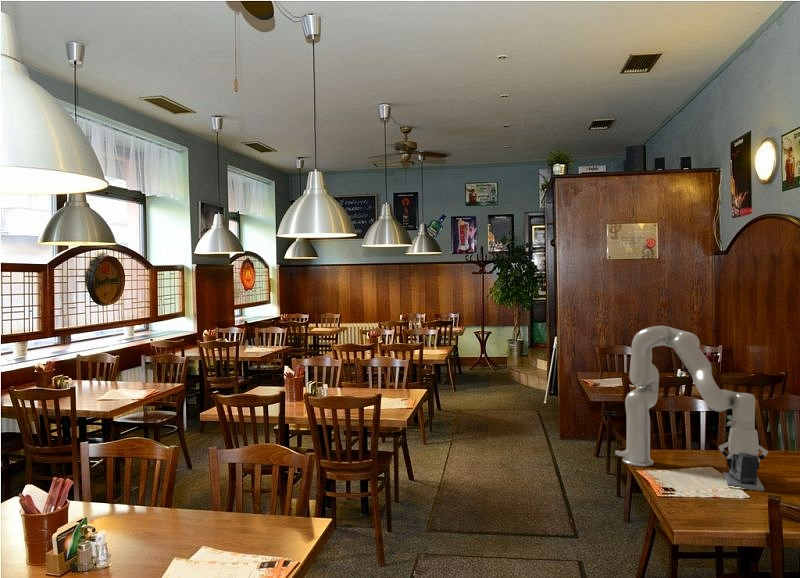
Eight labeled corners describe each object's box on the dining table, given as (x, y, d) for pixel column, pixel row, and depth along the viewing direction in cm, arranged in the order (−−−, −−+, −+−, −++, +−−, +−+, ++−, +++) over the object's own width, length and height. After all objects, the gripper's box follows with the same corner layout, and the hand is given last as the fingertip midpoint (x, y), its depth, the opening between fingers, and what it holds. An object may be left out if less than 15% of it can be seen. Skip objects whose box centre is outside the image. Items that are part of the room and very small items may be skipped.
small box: (758, 484, 232) (759, 457, 232) (740, 483, 233) (741, 455, 232) (745, 475, 243) (746, 449, 242) (728, 474, 243) (729, 448, 243)
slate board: (727, 487, 233) (728, 483, 233) (722, 475, 247) (722, 472, 247) (764, 491, 228) (764, 487, 228) (756, 479, 242) (756, 475, 242)
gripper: (719, 425, 237) (718, 469, 237) (771, 429, 230) (770, 475, 231) (717, 420, 244) (716, 464, 244) (767, 425, 237) (766, 469, 238)
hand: (742, 469), depth 237 cm, fingers open, 8 cm apart
